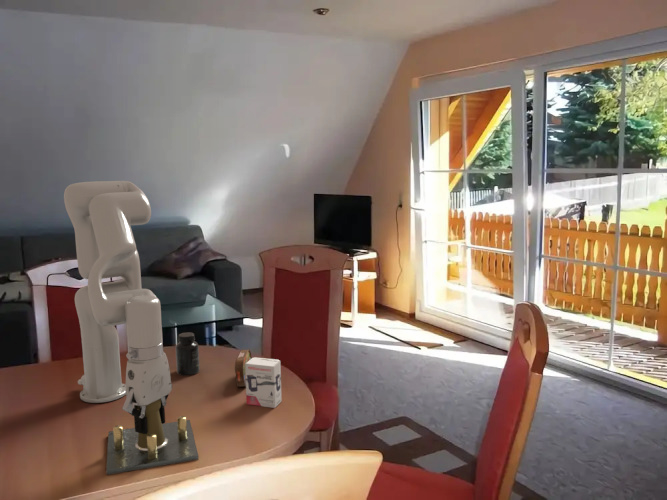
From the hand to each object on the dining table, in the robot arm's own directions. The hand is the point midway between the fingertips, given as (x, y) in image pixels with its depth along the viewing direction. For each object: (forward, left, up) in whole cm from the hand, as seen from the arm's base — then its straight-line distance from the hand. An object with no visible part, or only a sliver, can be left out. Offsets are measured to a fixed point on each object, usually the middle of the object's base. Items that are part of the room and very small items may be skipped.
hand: (150, 426), depth 139 cm
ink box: (+10, +32, -5) cm, 34 cm away
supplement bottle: (-24, +42, -5) cm, 49 cm away
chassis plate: (0, 0, -5) cm, 5 cm away
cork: (0, 0, -4) cm, 4 cm away
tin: (-4, +43, -5) cm, 44 cm away
